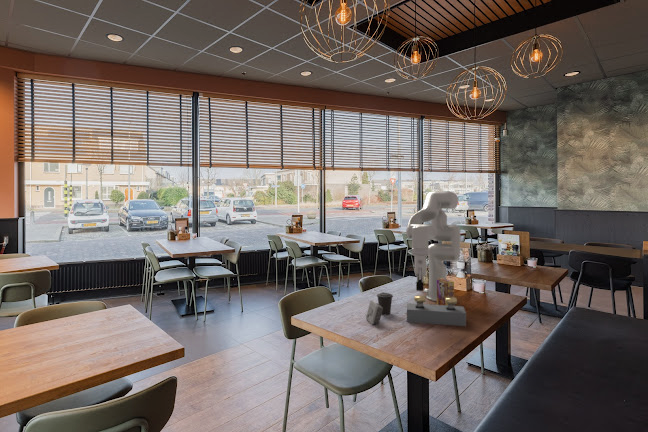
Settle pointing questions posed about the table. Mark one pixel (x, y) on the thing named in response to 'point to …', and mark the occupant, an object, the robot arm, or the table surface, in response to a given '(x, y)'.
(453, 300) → the knob
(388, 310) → the coffee cup
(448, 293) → the candy box
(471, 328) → the table surface
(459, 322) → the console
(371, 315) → the electrical switch
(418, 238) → the robot arm
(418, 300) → the knob
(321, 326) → the table surface
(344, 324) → the table surface
